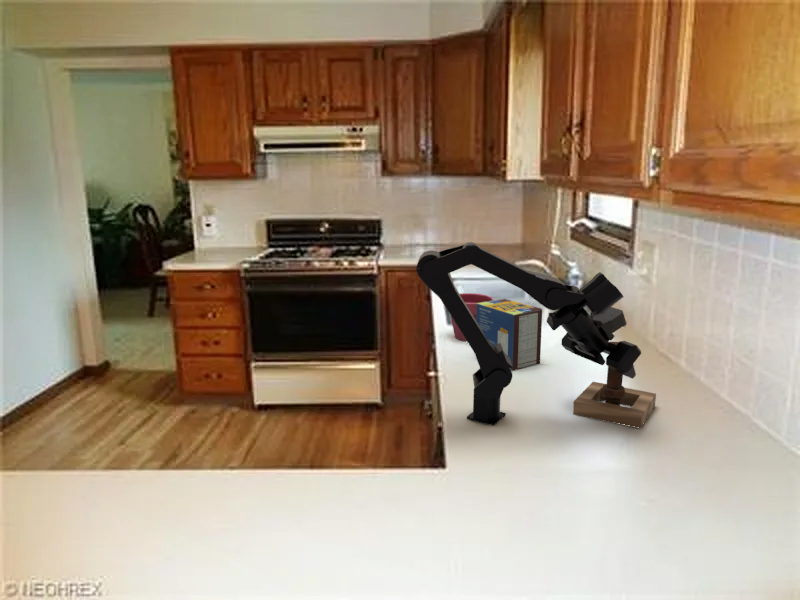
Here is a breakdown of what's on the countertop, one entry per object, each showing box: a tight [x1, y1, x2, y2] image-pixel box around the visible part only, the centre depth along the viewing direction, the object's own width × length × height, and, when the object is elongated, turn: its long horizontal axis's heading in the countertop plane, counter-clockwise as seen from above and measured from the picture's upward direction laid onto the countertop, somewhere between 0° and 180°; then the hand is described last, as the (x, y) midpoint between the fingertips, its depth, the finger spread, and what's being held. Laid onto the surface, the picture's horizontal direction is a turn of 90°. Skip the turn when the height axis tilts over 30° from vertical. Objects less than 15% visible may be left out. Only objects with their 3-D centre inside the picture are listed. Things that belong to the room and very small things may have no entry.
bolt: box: [603, 341, 626, 406], centre depth 132 cm, size 6×5×15 cm
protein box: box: [476, 298, 543, 372], centre depth 166 cm, size 10×15×16 cm
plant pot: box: [450, 292, 495, 342], centre depth 187 cm, size 14×14×13 cm
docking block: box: [572, 381, 657, 429], centre depth 133 cm, size 14×14×3 cm
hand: (618, 369), depth 132 cm, fingers open, 9 cm apart
